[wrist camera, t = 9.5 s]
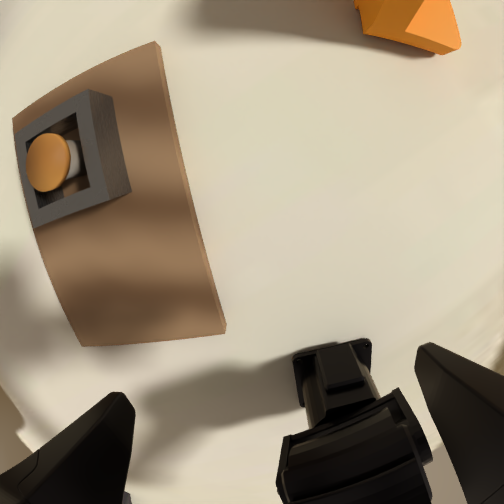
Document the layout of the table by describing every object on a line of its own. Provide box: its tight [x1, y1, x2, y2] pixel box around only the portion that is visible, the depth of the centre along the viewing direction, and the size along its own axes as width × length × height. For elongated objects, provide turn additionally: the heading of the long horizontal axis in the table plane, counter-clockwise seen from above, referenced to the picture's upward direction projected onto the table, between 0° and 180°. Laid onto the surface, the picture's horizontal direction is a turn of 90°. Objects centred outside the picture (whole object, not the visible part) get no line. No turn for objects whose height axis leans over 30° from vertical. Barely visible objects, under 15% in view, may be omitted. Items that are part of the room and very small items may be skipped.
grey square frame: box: [14, 89, 132, 228], centre depth 14 cm, size 6×6×3 cm
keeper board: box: [12, 41, 227, 347], centre depth 15 cm, size 20×13×5 cm, turn 12°
